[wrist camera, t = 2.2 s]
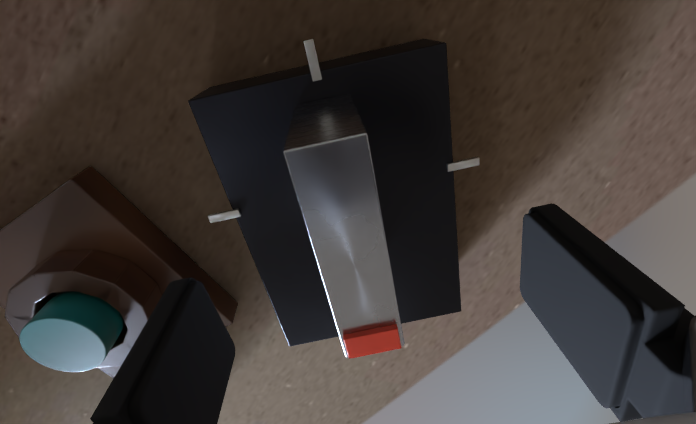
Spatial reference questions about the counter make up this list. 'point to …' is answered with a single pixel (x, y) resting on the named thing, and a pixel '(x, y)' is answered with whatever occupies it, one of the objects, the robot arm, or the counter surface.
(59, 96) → the counter surface
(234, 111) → the black rectangular base
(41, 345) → the button
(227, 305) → the brown square base
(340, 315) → the metal block
